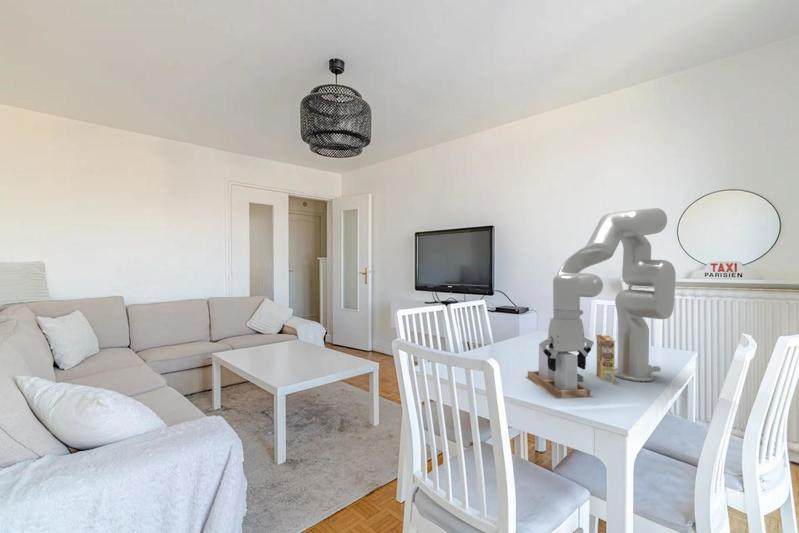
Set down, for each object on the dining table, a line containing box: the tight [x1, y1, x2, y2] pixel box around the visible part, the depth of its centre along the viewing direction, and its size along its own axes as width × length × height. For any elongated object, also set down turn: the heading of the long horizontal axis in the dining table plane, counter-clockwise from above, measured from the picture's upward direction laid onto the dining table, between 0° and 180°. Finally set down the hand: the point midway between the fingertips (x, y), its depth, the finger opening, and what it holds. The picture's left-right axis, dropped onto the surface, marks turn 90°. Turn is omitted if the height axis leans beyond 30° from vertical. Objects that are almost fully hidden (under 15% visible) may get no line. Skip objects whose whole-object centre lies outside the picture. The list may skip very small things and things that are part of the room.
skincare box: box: [554, 352, 578, 390], centre depth 114 cm, size 6×4×12 cm
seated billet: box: [538, 344, 555, 379], centre depth 124 cm, size 4×6×12 cm, turn 6°
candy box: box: [596, 334, 615, 385], centre depth 128 cm, size 9×4×15 cm, turn 162°
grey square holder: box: [577, 372, 584, 383], centre depth 126 cm, size 5×5×3 cm
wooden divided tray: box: [525, 370, 594, 400], centre depth 119 cm, size 12×20×3 cm, turn 6°
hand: (566, 369), depth 114 cm, fingers open, 9 cm apart
